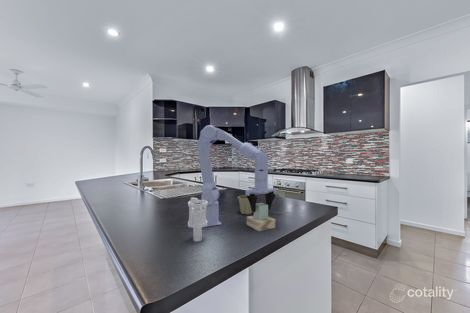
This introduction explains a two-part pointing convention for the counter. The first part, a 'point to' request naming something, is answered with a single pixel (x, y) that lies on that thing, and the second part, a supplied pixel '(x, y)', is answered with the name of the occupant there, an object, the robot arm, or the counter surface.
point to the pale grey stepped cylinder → (197, 217)
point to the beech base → (261, 223)
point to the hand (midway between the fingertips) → (260, 210)
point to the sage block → (261, 211)
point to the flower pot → (244, 205)
